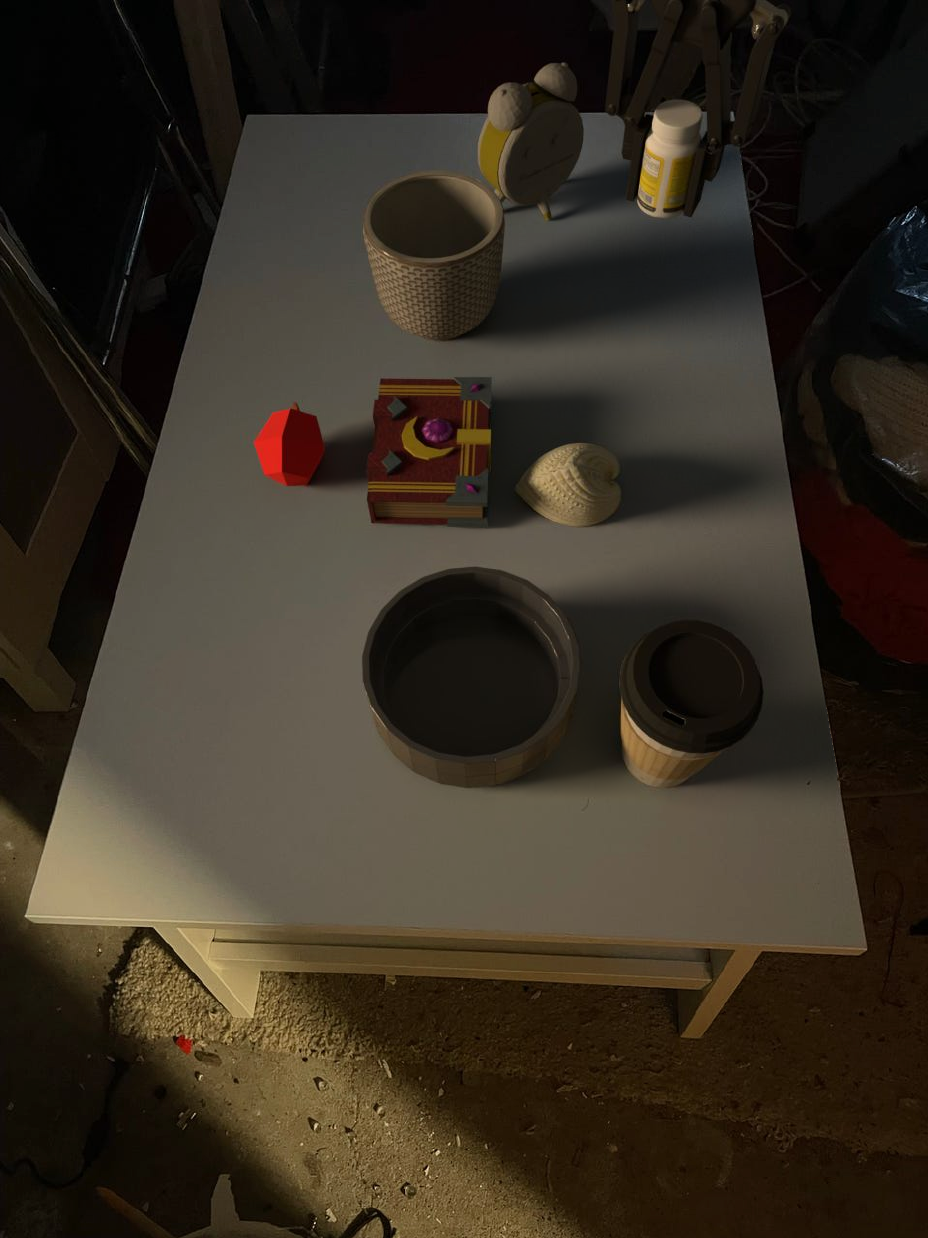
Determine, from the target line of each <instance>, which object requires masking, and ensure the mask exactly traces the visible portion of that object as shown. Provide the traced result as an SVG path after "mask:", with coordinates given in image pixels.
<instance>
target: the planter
mask: <svg viewBox="0 0 928 1238" xmlns="http://www.w3.org/2000/svg"><path fill="white" fill-rule="evenodd" d="M504 211H505V210H504V207H503V204H501V201H500V199H499V198H498V196H497V195H496V193H495V190H493V189H492V188H491V187H490V186H489V185H487V184H486V183H484V182H483V181H482V180H479V179H477V178H475V177H473V176H470V175H468V174H465V173H461V172H457V171H450V170H423V171H418V172H412V173H409V174H405V175H402V176H401V177H397V178H394V179H393V180H392V181H389V182H388V183H386V184H385V185H383V186H382V187H380V188H379V189H378V190H377V191H376V192H375V193H374V194H373V195H372V196H371V198H370V199H369V201H368V202H367V203H366V206H365V208H364V211H363V216H362V234H363V238H364V243H365V248H366V252H367V256H368V261H369V266H370V271H371V274H372V278H373V282H374V286H375V289H376V292H377V295H378V298H379V301H380V303H381V305H382V307H383V309H384V311H385V313H386V314H387V316H388V317H389V318H390V320H391V321H392V322H393V323H394V324H395V325H396V326H397V327H398V328H400V329H401V330H404V331H405V332H407V333H409V334H411V335H413V336H416V337H420V338H422V339H423V338H424V339H426V340H430V341H435V342H437V341H438V342H440V341H448V340H452V339H454V338H457V337H459V336H461V335H463V334H466V333H468V332H470V331H471V330H473V329H474V328H476V327H477V326H478V325H480V323H482V322H483V321H484V320H485V319H486V317H487V316H488V315H489V313H490V311H491V310H492V308H493V306H494V303H495V302H496V298H497V295H498V290H499V285H500V281H501V272H502V264H503V254H504V240H505V232H506V231H505V229H506V228H505V227H506V217H505V212H504Z"/></svg>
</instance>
